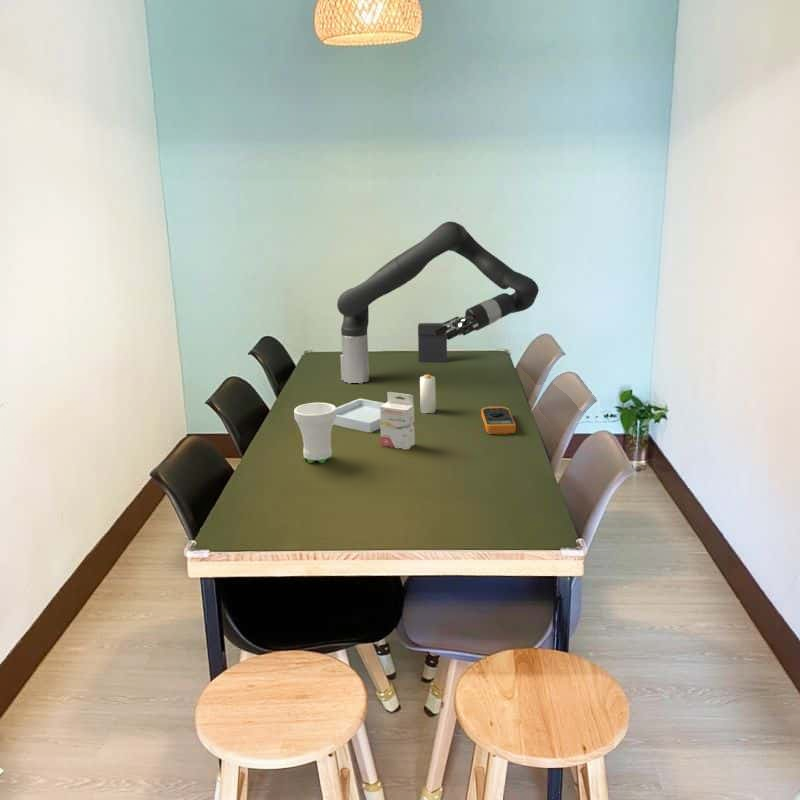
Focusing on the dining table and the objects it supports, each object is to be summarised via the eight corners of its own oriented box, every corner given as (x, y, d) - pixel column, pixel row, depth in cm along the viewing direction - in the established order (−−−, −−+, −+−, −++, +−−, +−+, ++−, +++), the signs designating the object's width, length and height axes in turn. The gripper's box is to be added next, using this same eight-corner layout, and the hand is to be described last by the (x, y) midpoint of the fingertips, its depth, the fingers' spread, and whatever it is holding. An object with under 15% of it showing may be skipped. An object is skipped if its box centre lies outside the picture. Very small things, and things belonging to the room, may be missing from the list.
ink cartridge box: (380, 446, 220) (378, 395, 216) (387, 440, 225) (386, 391, 220) (408, 450, 217) (407, 399, 212) (415, 444, 221) (414, 394, 217)
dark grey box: (447, 359, 312) (446, 322, 307) (446, 362, 308) (446, 324, 303) (419, 359, 313) (418, 322, 308) (418, 362, 309) (417, 324, 304)
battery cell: (417, 412, 249) (416, 376, 245) (425, 408, 253) (425, 372, 249) (430, 414, 246) (429, 378, 243) (438, 410, 250) (438, 374, 246)
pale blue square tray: (323, 422, 241) (323, 413, 240) (360, 407, 255) (359, 398, 254) (369, 432, 231) (369, 423, 230) (405, 416, 245) (405, 407, 244)
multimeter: (508, 416, 244) (508, 405, 243) (516, 435, 227) (516, 424, 226) (480, 416, 244) (480, 406, 243) (486, 436, 227) (486, 424, 226)
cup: (305, 469, 205) (302, 417, 201) (291, 456, 214) (287, 406, 210) (345, 461, 210) (343, 410, 206) (329, 448, 219) (326, 400, 215)
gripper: (469, 301, 256) (427, 322, 251) (491, 305, 243) (446, 326, 238) (476, 323, 258) (434, 343, 254) (498, 327, 245) (454, 349, 241)
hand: (440, 335), depth 246 cm, fingers open, 8 cm apart
